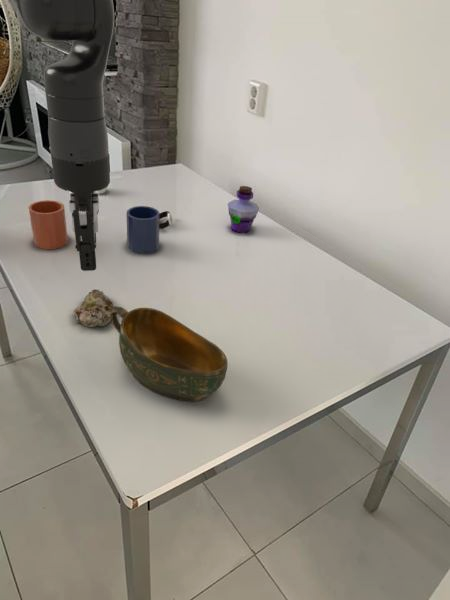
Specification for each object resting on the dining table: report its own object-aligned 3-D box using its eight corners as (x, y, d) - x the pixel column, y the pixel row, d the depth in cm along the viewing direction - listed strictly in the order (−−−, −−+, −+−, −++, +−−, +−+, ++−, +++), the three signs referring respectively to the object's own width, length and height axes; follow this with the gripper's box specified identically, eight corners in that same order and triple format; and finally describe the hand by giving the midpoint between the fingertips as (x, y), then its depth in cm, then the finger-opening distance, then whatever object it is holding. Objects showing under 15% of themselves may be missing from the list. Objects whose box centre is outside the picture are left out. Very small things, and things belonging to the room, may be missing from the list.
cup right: (126, 253, 108) (125, 218, 103) (129, 238, 114) (128, 205, 109) (158, 254, 109) (158, 220, 104) (159, 239, 115) (160, 207, 110)
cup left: (30, 248, 105) (24, 212, 100) (38, 233, 112) (33, 199, 107) (64, 250, 106) (59, 214, 101) (70, 235, 113) (66, 201, 107)
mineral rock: (118, 319, 83) (73, 310, 81) (112, 338, 85) (69, 329, 83) (120, 289, 92) (80, 279, 89) (115, 306, 94) (76, 297, 91)
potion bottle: (222, 232, 122) (226, 190, 115) (227, 220, 129) (232, 179, 122) (253, 238, 121) (260, 195, 114) (257, 224, 128) (263, 184, 121)
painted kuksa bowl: (172, 331, 86) (174, 286, 80) (230, 401, 73) (238, 354, 67) (107, 351, 79) (104, 305, 74) (158, 433, 66) (159, 384, 60)
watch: (170, 231, 119) (170, 219, 117) (152, 229, 119) (152, 217, 117) (173, 219, 126) (174, 207, 124) (156, 217, 126) (157, 205, 124)
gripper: (54, 134, 66) (66, 235, 75) (45, 167, 54) (60, 281, 64) (107, 136, 67) (112, 234, 77) (109, 168, 56) (115, 279, 65)
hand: (89, 255), depth 70 cm, fingers open, 7 cm apart
